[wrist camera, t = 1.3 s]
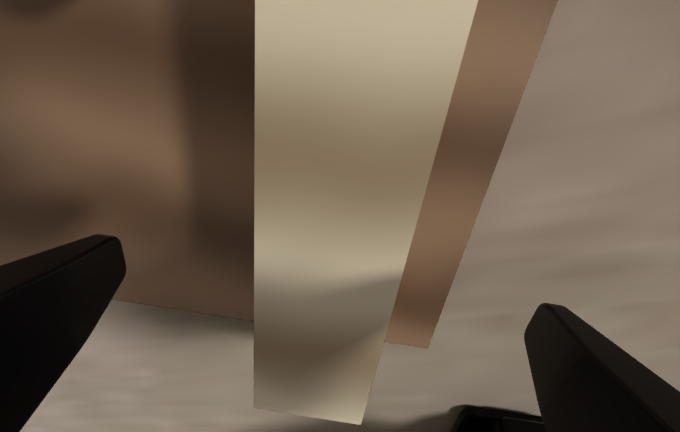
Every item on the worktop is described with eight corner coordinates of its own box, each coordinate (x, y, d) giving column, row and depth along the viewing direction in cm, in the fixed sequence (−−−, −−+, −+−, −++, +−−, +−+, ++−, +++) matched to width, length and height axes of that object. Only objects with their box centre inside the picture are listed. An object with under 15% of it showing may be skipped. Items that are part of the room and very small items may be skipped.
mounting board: (423, 324, 18) (427, 348, 16) (14, 260, 18) (-14, 279, 17) (676, -403, 7) (742, -496, 6) (-325, -534, 7) (-475, -651, 6)
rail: (363, 338, 16) (360, 425, 13) (279, 325, 16) (253, 408, 13) (538, -414, 6) (732, -917, 3) (320, -442, 6) (258, -968, 3)
